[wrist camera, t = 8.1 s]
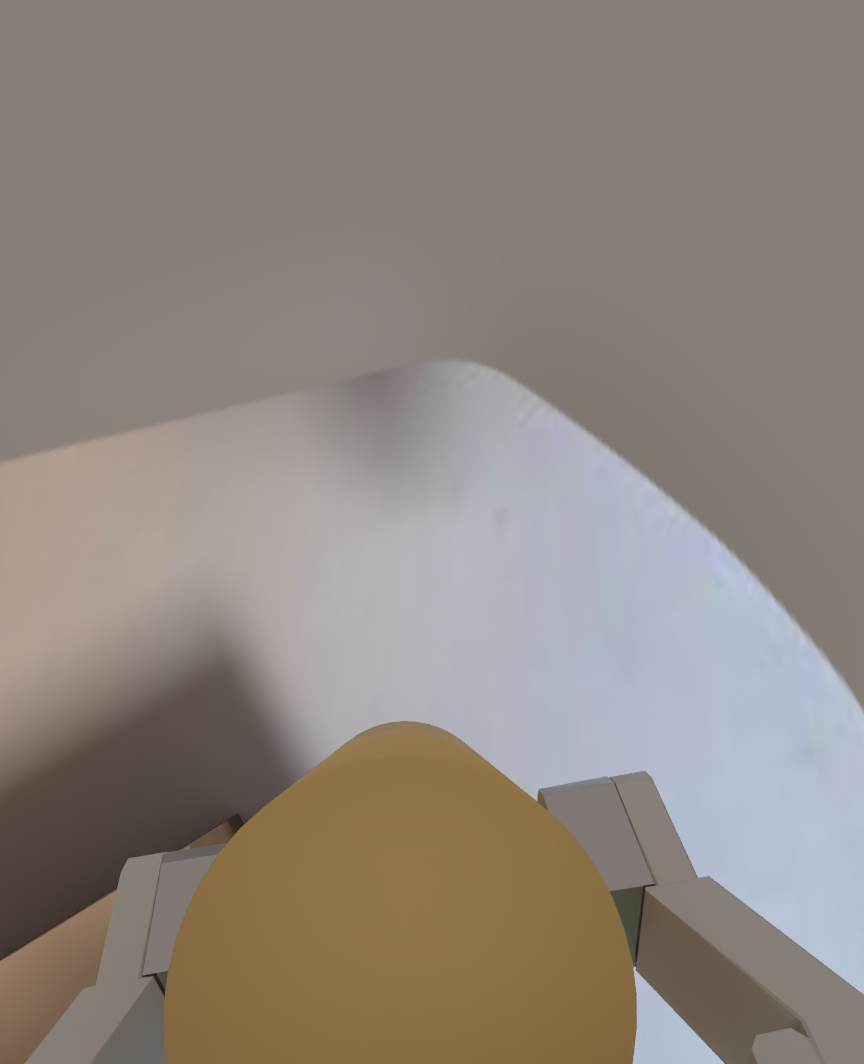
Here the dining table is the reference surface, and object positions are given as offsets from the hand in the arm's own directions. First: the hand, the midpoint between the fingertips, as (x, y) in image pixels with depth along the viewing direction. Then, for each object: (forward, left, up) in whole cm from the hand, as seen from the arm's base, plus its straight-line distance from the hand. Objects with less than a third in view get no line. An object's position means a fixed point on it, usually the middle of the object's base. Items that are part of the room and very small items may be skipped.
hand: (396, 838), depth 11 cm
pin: (+1, 0, -6) cm, 6 cm away
